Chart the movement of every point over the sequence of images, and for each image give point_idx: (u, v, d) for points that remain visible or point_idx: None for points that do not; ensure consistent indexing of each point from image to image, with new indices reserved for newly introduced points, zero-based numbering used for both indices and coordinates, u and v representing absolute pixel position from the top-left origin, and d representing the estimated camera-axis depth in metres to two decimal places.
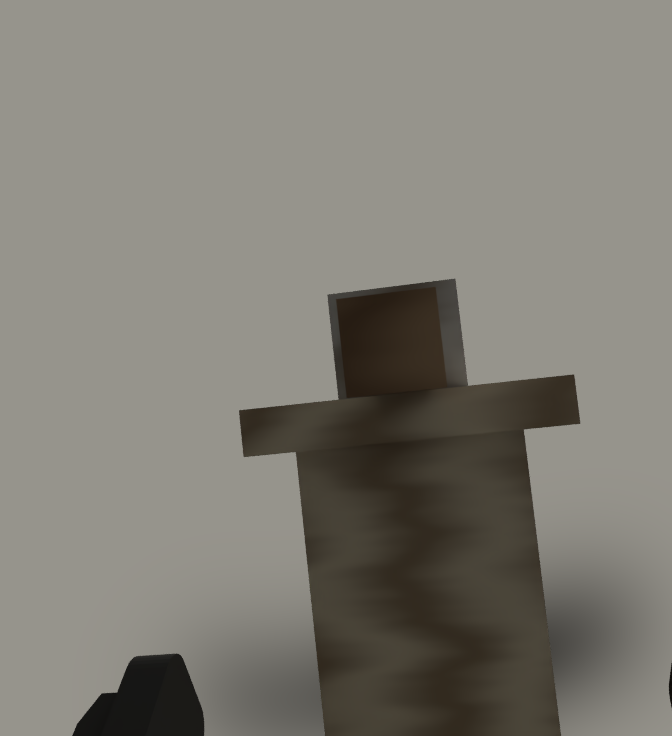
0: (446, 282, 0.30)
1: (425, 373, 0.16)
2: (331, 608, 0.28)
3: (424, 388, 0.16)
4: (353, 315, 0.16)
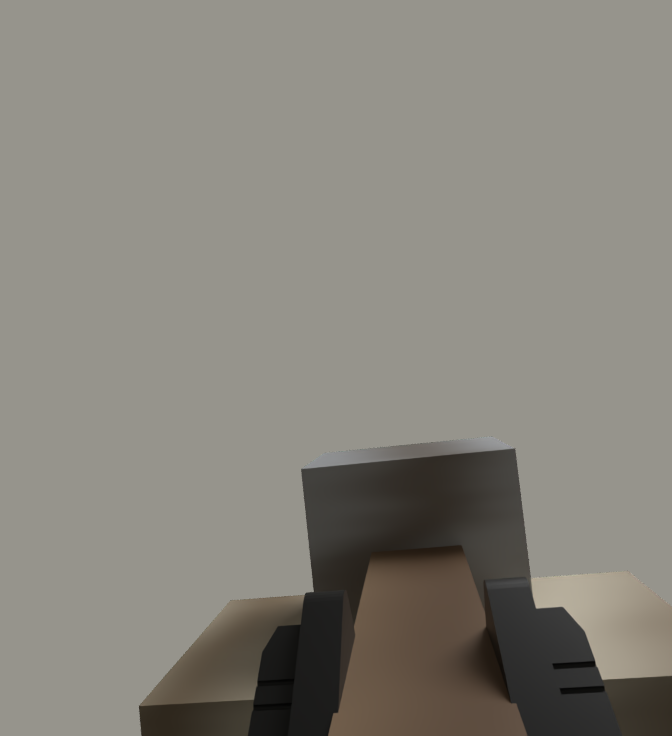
0: (500, 454, 0.18)
1: None
2: None
3: None
4: None
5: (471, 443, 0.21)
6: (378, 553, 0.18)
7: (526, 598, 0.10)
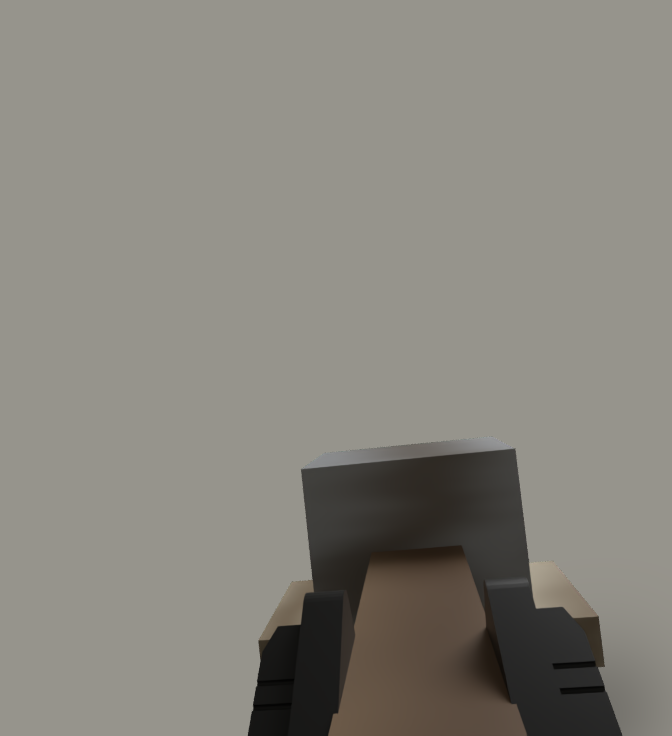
0: (500, 454, 0.18)
1: None
2: None
3: None
4: None
5: (471, 443, 0.21)
6: (378, 553, 0.18)
7: (526, 598, 0.10)
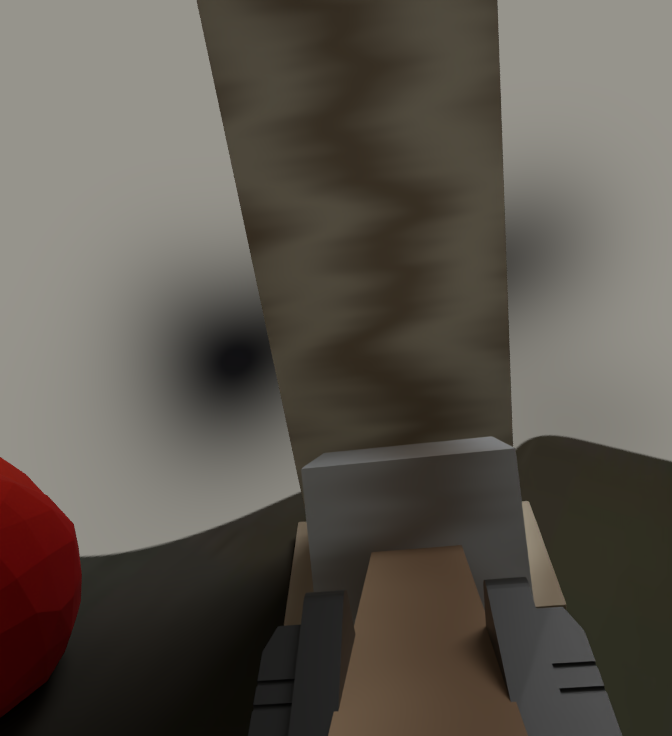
0: (500, 454, 0.18)
1: None
2: (255, 171, 0.24)
3: None
4: None
5: (471, 443, 0.21)
6: (378, 553, 0.18)
7: (526, 598, 0.10)
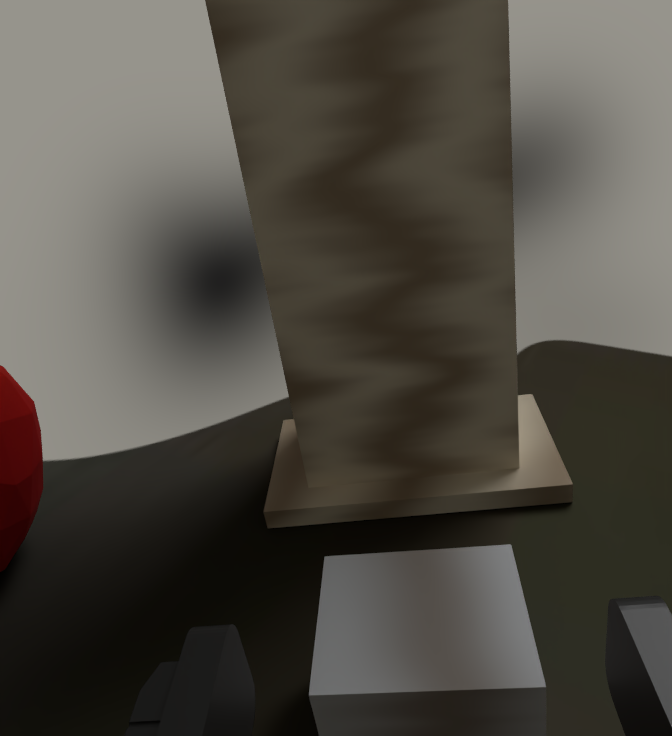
0: (528, 689, 0.16)
1: None
2: None
3: None
4: None
5: (491, 596, 0.19)
6: None
7: (666, 620, 0.09)
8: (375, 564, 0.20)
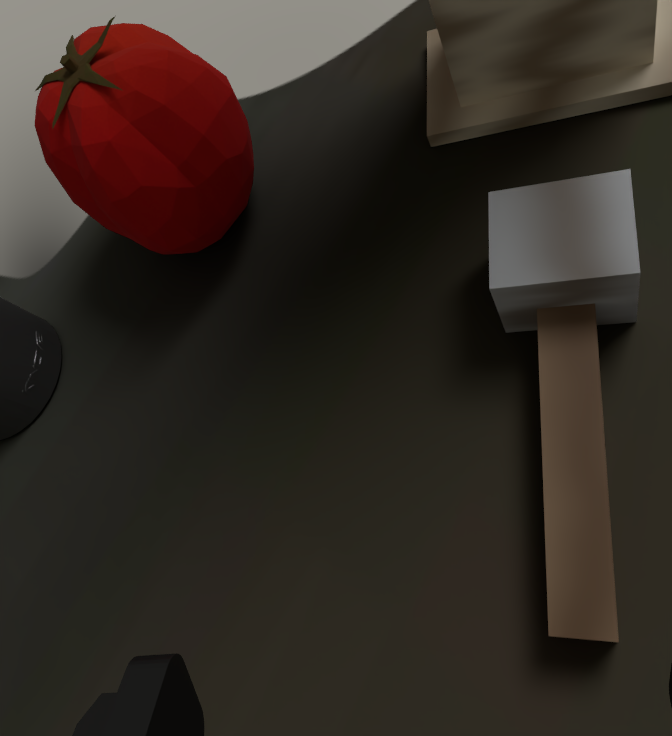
0: (628, 274, 0.26)
1: None
2: None
3: None
4: None
5: (610, 213, 0.27)
6: (541, 311, 0.30)
7: None
8: (526, 195, 0.29)
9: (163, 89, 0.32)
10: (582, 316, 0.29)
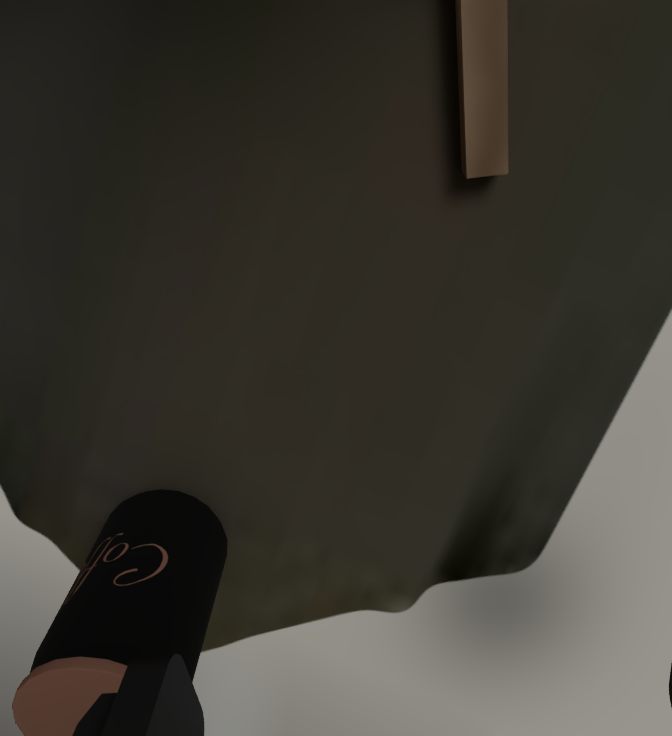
0: None
1: None
2: None
3: None
4: None
5: None
6: None
7: None
8: None
9: None
10: None
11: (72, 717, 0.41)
